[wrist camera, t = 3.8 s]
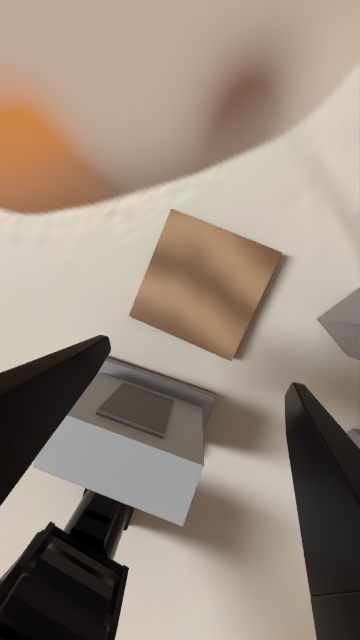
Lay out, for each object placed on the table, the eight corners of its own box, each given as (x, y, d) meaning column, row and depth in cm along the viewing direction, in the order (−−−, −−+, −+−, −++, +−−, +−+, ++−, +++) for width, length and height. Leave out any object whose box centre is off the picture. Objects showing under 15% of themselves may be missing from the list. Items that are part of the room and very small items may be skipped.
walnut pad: (229, 358, 21) (231, 361, 20) (132, 315, 21) (128, 315, 20) (277, 255, 19) (282, 252, 18) (172, 213, 20) (171, 208, 19)
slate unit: (193, 455, 22) (189, 549, 13) (84, 415, 23) (17, 479, 14) (214, 393, 21) (224, 451, 13) (100, 354, 22) (40, 385, 14)
